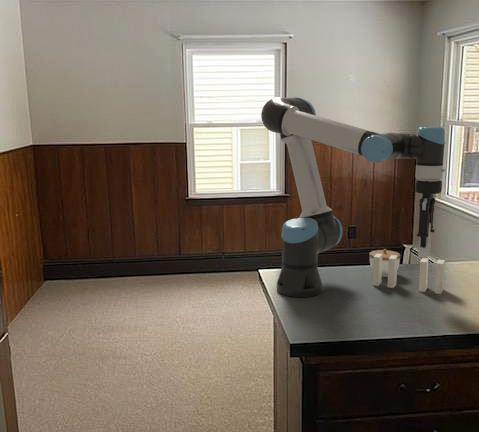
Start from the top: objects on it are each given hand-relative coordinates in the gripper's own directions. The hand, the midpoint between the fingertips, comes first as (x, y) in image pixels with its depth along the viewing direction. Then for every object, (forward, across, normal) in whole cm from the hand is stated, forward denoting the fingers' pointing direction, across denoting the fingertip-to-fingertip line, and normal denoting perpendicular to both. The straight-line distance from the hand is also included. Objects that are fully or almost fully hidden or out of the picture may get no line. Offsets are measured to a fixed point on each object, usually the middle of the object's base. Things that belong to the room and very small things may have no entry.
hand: (424, 255), depth 160 cm
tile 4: (+15, +11, +1) cm, 18 cm away
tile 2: (+15, +11, +11) cm, 21 cm away
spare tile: (0, 0, 0) cm, 0 cm away
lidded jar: (+15, +23, +16) cm, 32 cm away
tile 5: (+15, +11, -4) cm, 19 cm away
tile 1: (+15, +11, +16) cm, 24 cm away
